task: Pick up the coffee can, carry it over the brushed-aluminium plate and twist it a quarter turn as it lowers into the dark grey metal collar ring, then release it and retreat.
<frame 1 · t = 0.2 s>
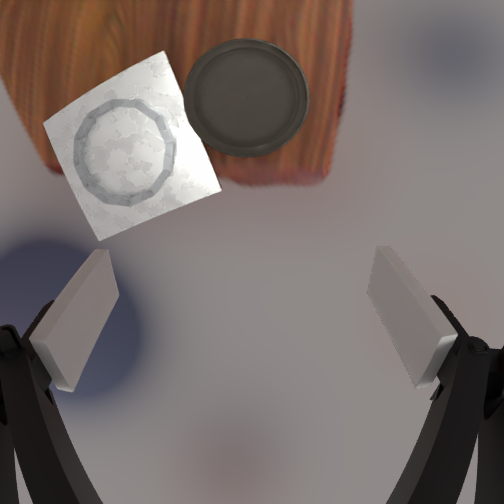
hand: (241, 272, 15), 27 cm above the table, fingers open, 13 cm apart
coffee can: (245, 98, 35), on the table
duct collar: (126, 150, 38), on the table
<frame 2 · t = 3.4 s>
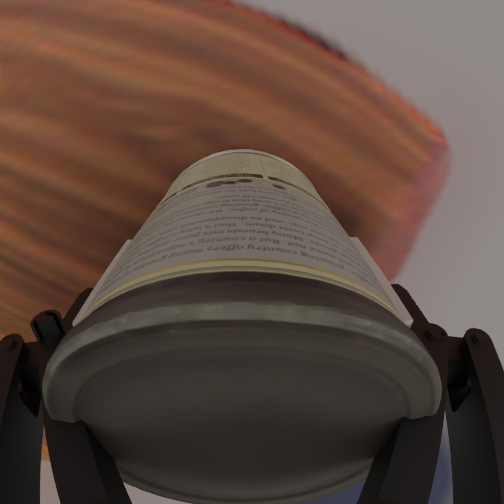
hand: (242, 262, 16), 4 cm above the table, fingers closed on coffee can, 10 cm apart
coffee can: (242, 229, 19), on the table, touching gripper
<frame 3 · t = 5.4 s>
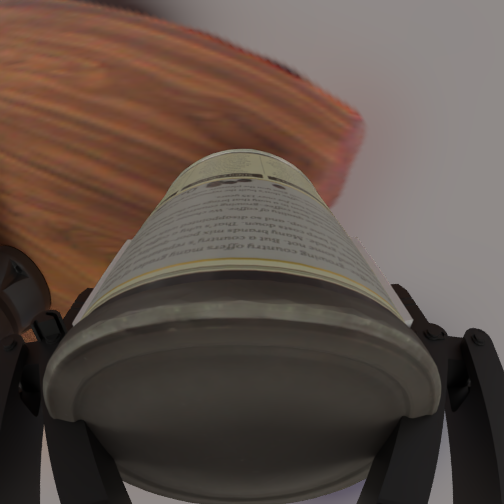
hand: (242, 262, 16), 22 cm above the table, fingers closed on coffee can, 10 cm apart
coffee can: (242, 229, 19), point 18 cm above the table, touching gripper
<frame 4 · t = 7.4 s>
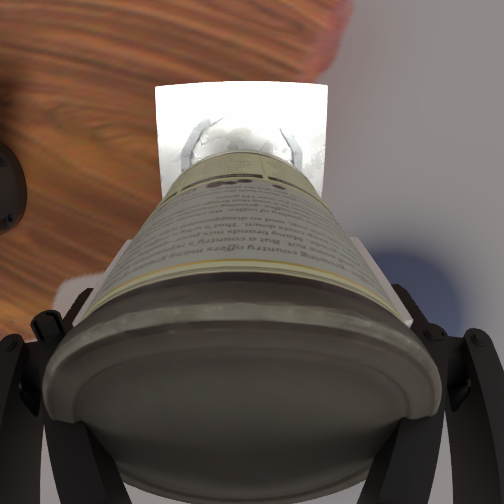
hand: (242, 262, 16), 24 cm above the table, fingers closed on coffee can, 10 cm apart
coffee can: (242, 229, 19), point 20 cm above the table, touching gripper
duct collar: (241, 162, 37), on the table
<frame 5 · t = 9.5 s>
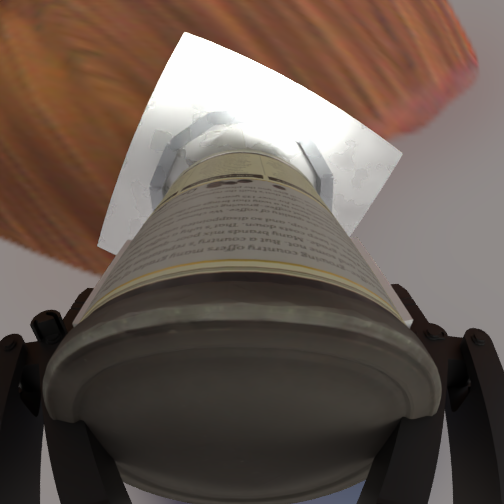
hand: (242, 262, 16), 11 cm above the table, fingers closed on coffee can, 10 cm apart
coffee can: (242, 230, 19), point 7 cm above the table, touching gripper
duct collar: (241, 193, 26), on the table
when the fingers open (7 cm above the table, at t = 11.4 s): coffee can drops 2 cm, resting on duct collar.
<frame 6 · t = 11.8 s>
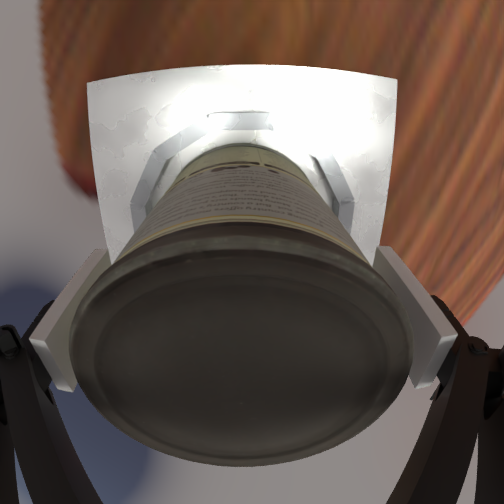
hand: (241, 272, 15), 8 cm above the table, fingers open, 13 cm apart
coffee can: (241, 217, 21), point 1 cm above the table, touching duct collar
duct collar: (242, 213, 22), on the table
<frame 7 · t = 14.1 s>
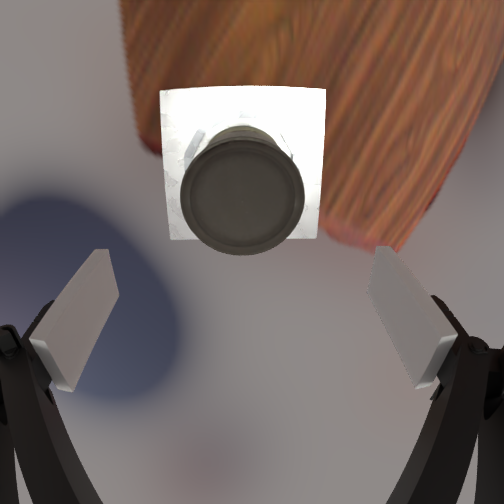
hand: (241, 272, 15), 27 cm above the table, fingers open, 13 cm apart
coffee can: (242, 164, 38), point 1 cm above the table, touching duct collar
duct collar: (242, 164, 39), on the table
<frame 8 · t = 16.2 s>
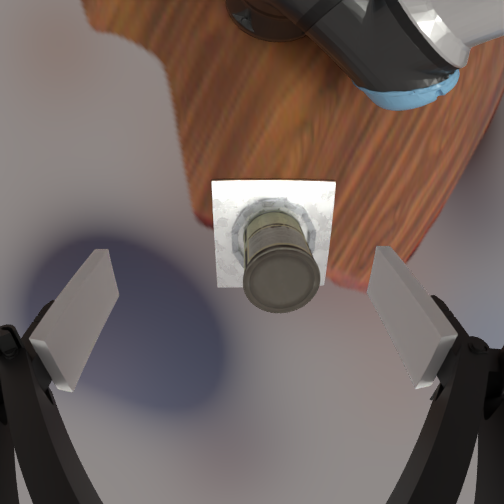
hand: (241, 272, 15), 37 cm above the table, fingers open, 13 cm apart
coffee can: (273, 236, 54), point 1 cm above the table, touching duct collar
duct collar: (272, 235, 54), on the table
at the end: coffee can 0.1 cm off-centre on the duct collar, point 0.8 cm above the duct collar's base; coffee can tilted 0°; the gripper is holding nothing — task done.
